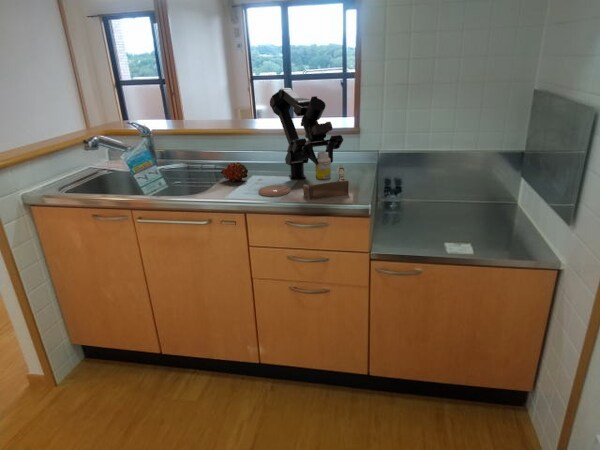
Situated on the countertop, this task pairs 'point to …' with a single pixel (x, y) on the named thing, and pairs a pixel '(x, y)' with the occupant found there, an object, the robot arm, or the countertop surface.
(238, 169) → the red spiky round lump
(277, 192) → the terracotta saucer
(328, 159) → the supplement bottle
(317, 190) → the open wooden frame
